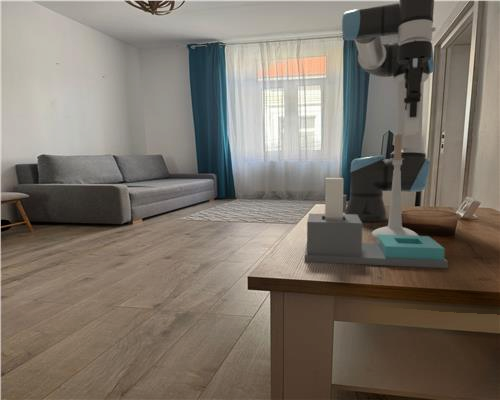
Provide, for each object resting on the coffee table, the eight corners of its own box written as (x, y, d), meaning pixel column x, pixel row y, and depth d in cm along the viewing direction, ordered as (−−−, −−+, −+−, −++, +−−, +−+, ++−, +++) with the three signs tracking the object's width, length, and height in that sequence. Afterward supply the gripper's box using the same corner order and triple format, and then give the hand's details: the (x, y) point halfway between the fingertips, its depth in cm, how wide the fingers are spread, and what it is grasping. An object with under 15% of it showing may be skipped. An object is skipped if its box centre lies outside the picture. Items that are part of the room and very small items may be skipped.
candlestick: (391, 242, 99) (395, 131, 95) (362, 233, 111) (365, 134, 107) (428, 239, 103) (434, 132, 100) (396, 230, 115) (400, 134, 112)
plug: (325, 229, 86) (325, 179, 84) (324, 226, 90) (325, 177, 88) (345, 230, 85) (347, 179, 83) (344, 226, 89) (346, 177, 87)
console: (304, 261, 83) (304, 222, 81) (307, 246, 96) (307, 212, 95) (447, 268, 77) (450, 226, 76) (428, 251, 90) (430, 215, 89)
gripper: (437, 24, 74) (432, 130, 76) (427, 55, 97) (423, 136, 99) (398, 29, 77) (394, 131, 79) (397, 58, 100) (394, 137, 102)
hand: (410, 134), depth 89 cm, fingers open, 13 cm apart
